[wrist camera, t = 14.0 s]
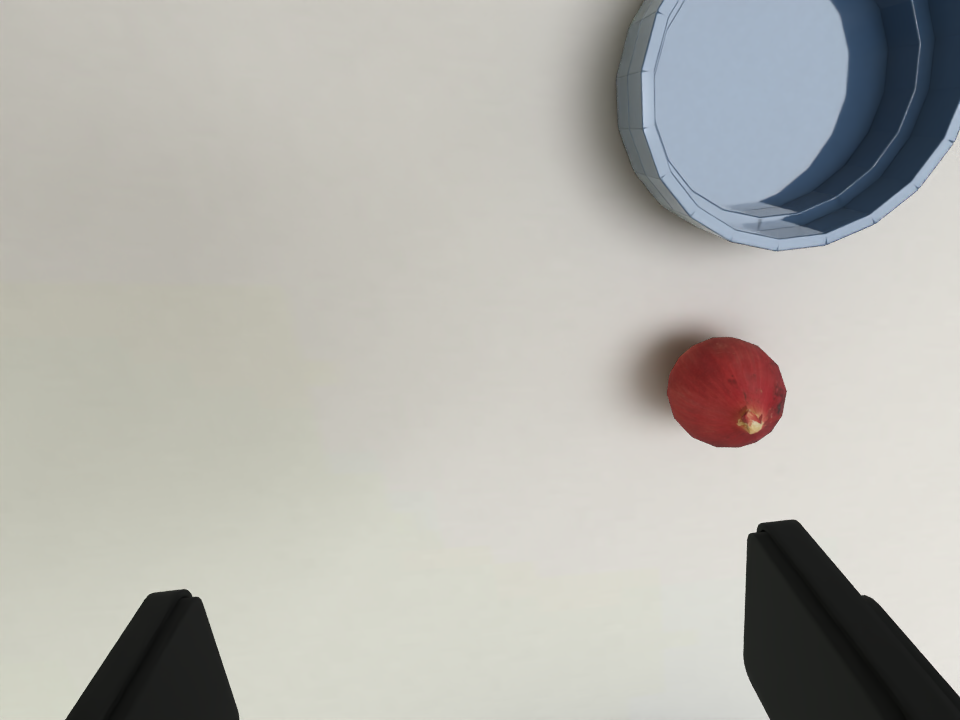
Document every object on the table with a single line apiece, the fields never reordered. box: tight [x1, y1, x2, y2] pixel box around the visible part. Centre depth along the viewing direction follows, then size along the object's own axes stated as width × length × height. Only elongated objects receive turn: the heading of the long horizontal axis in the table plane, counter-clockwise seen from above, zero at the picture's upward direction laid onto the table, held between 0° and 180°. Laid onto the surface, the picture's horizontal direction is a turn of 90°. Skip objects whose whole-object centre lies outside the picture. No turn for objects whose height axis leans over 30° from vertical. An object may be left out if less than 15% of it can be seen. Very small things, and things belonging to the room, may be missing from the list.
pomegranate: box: [667, 337, 787, 447], centre depth 34 cm, size 6×6×8 cm
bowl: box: [616, 0, 960, 251], centre depth 30 cm, size 15×15×5 cm
